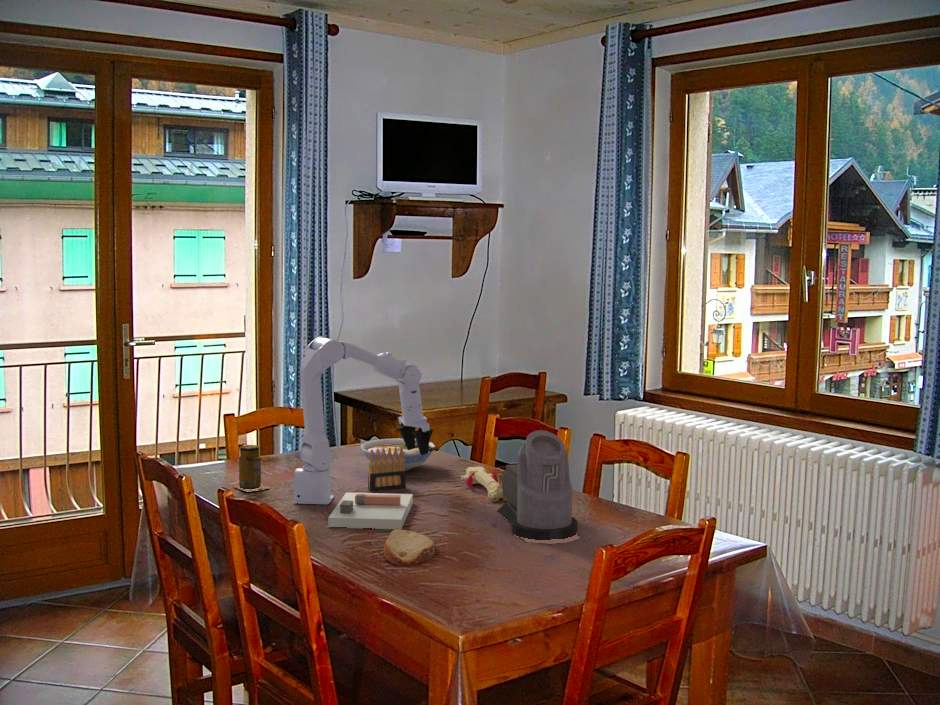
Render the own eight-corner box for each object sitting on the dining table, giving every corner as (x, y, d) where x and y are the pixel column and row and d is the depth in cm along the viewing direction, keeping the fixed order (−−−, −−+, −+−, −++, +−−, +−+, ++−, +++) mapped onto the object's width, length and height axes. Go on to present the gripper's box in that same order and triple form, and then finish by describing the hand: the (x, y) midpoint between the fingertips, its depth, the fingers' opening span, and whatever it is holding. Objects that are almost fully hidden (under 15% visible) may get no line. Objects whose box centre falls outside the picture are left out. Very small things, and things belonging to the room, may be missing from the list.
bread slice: (403, 535, 242) (403, 520, 241) (460, 551, 230) (460, 535, 230) (348, 553, 228) (348, 537, 228) (406, 570, 217) (406, 554, 216)
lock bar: (354, 504, 257) (354, 496, 257) (356, 501, 260) (356, 493, 260) (399, 505, 256) (399, 497, 256) (400, 502, 259) (400, 494, 259)
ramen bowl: (349, 464, 314) (349, 438, 313) (417, 457, 323) (417, 432, 322) (376, 482, 291) (376, 454, 290) (448, 475, 301) (448, 448, 300)
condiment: (255, 484, 288) (255, 443, 287) (270, 490, 282) (269, 448, 280) (232, 488, 284) (231, 446, 282) (246, 494, 277) (245, 451, 276)
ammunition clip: (369, 492, 280) (369, 449, 279) (367, 490, 282) (367, 448, 281) (405, 488, 285) (405, 446, 283) (403, 486, 286) (403, 445, 285)
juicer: (589, 541, 237) (592, 440, 234) (525, 546, 233) (526, 443, 230) (546, 508, 266) (548, 417, 263) (488, 512, 262) (489, 419, 259)
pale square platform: (328, 527, 246) (328, 508, 246) (346, 501, 270) (346, 484, 269) (401, 529, 245) (401, 510, 245) (412, 503, 269) (412, 486, 268)
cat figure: (517, 505, 273) (487, 477, 296) (519, 475, 271) (488, 448, 294) (483, 508, 270) (455, 479, 293) (484, 477, 268) (456, 450, 291)
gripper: (436, 405, 278) (442, 452, 280) (411, 398, 290) (417, 443, 293) (414, 411, 274) (420, 459, 277) (389, 404, 286) (396, 449, 289)
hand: (417, 451), depth 284 cm, fingers open, 7 cm apart
